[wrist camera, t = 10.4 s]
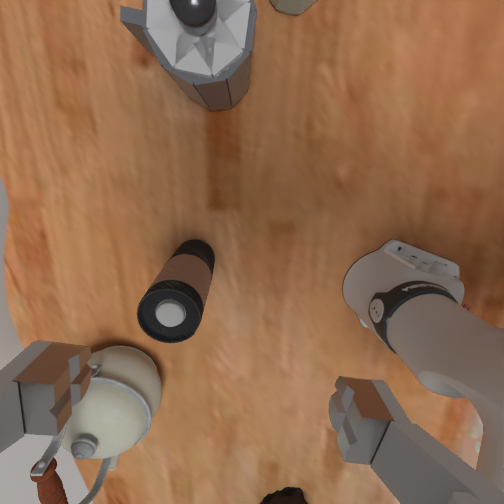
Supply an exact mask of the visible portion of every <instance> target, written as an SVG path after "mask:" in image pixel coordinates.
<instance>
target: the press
mask: <svg viewBox="0 0 504 504" xmlns="http://www.w3.org/2000/svg"><path fill="white" fill-rule="evenodd" d="M216 1H217V8H218V14H217V19H216V22H215V24H214V26H213V27H212V28H211V29H210V30H209V31H208V32H206V33H205V34H204V35H195V34H191V33H189V32H187V31H186V30H185V29H184V28H183V27H182V26H181V25H180V23H179V22H178V20H177V17H176V15H175V13H174V11H173V9H172V7H171V5H170V2H169V0H143V11H142V10H138V9H133V8H129V7H124V6H121V13H120V21H121V22H122V23H123V24H124V25H125V26H126V28H127V29H128V30H129V31H130V32H131V33H132V34H133V35H134V36H135V38H136V39H137V40H138V41H139V42H140V43H141V44H142V45H143V47H144V48H145V49H146V50H147V51H148V52H149V53H150V54H151V55H152V56H154V57H157V59H158V61H159V62H160V64H161V66H162V67H163V68H164V69H165V71H166V72H167V73H168V74H169V75H170V76H171V77H172V78H173V80H174V81H175V82H176V83H177V84H178V85H179V86H180V88H181V89H182V90H183V91H184V92H185V93H186V94H187V95H188V97H189V98H190V99H191V100H192V101H194V102H195V103H197V104H199V105H201V106H202V107H204V108H206V109H208V110H209V111H222V110H227V109H231V108H232V107H234V106H235V105H236V104H237V103H238V102H239V101H240V100H241V99H242V97H243V96H244V95H245V94H246V93H247V91H248V85H249V78H250V72H251V64H252V54H253V45H254V36H255V26H256V17H257V8H256V6H255V3H254V1H253V0H216Z"/></svg>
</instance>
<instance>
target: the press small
mask: <svg viewBox="0 0 504 504" xmlns="http://www.w3.org/2000/svg"><path fill="white" fill-rule="evenodd" d="M315 1H317V0H270V2H271V4H272V5H273V6H274V7H275V8H276V9H277V10H278V11H279V12H281V13H283V14H286V15H300V14H301V13H303V12H304V11H306V10H307V9H308V8H309V7H310V6H311V5H312V4H313V3H314V2H315Z"/></svg>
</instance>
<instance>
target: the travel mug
mask: <svg viewBox="0 0 504 504" xmlns="http://www.w3.org/2000/svg"><path fill="white" fill-rule="evenodd" d="M214 262H215V256H214V252H213V250H212V249H211V247H210V246H209V245H208V244H206V243H205V242H203V241H199V240H190V241H187V242H185V243H183V244H182V245H181V246H180V247H179V248H178V249H177V250H176V252H175V253H174V254H173V255H172V257H171V258H170V259H169V260H168V261H167V263H166V264H165V266H164V267H163V269H162V270H161V272H160V273H159V274H158V276H157V277H156V279H155V280H154V282H153V283H152V285H151V286H150V288H149V289H148V291H147V292H146V294H145V295H144V297H143V298H142V300H141V301H140V303H139V306H138V309H137V318H138V322H139V325H140V327H141V328H142V330H143V331H144V332H145V333H146V334H147V335H148V336H150V337H151V338H153V339H155V340H157V341H160V342H164V343H178V342H182V341H184V340H187V339H189V338H190V337H192V336H193V335H194V334H195V332H196V330H197V328H198V326H199V324H200V322H201V319H202V315H203V311H204V307H205V303H206V300H207V296H208V292H209V288H210V285H211V280H212V274H213V268H214Z"/></svg>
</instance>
